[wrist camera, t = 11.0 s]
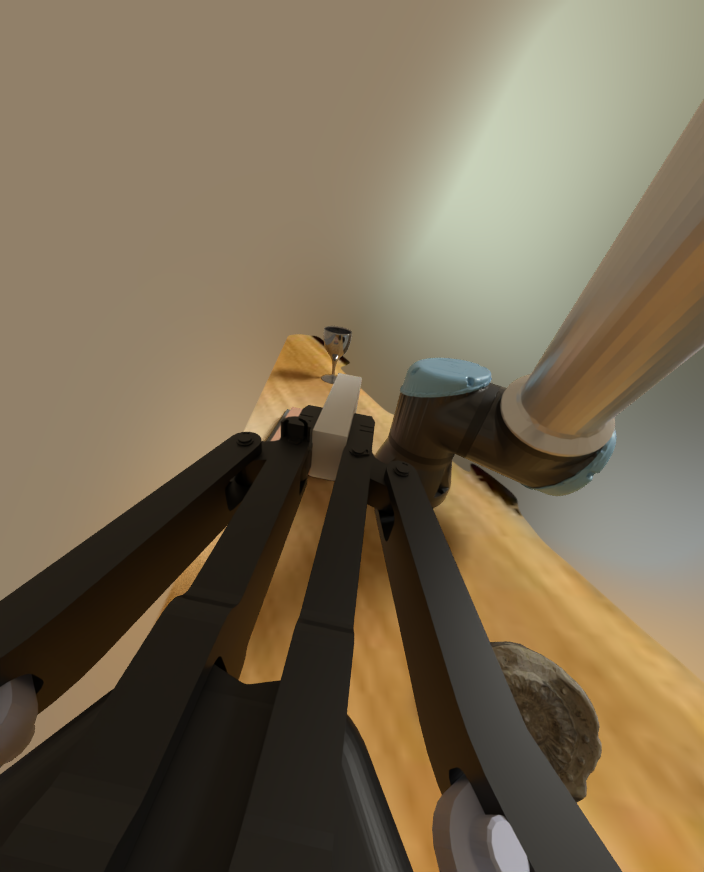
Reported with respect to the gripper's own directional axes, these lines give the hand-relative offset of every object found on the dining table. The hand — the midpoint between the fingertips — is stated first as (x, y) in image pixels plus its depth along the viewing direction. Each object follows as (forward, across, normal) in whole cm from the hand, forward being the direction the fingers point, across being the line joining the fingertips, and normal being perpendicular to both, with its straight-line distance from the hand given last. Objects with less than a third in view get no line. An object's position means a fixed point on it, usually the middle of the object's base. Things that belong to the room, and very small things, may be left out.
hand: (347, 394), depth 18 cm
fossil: (-7, +20, -28) cm, 35 cm away
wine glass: (+64, -10, -28) cm, 70 cm away
